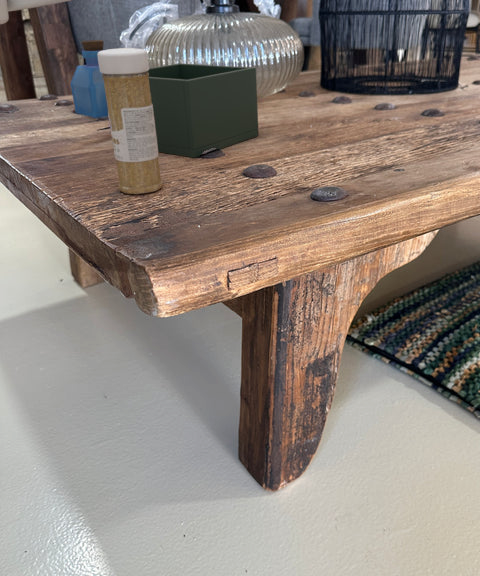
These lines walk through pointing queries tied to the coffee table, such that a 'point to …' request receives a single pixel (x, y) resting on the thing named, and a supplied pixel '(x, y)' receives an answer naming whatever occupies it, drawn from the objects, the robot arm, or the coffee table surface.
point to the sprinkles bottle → (131, 118)
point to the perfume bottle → (90, 83)
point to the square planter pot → (202, 107)
